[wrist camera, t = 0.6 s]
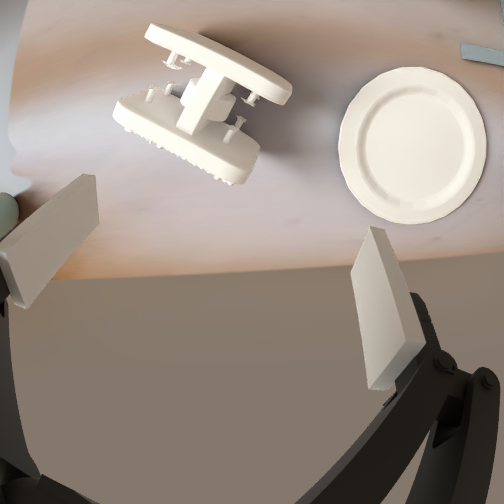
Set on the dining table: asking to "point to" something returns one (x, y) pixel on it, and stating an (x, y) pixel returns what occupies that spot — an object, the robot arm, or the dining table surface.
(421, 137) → the plate
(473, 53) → the l-shaped desk stand
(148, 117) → the cable organizer
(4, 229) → the cup
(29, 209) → the dining table surface
